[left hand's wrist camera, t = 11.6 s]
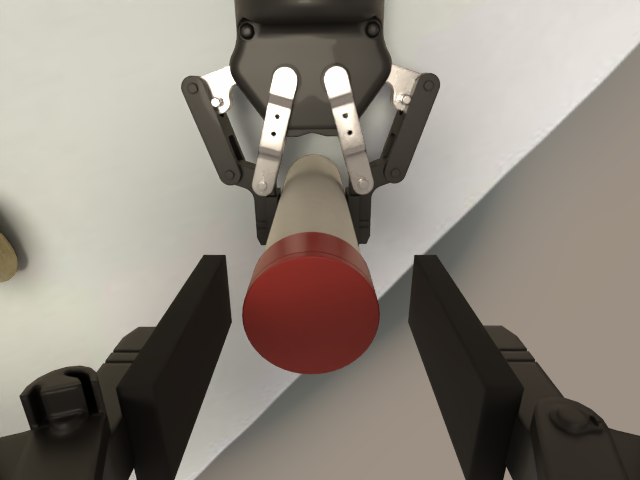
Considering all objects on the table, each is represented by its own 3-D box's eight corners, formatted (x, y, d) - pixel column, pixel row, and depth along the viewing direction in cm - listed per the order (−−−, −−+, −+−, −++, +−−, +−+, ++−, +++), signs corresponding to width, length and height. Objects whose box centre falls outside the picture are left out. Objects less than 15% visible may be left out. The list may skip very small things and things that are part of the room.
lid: (315, 206, 14) (315, 227, 12) (395, 290, 15) (407, 322, 13) (227, 283, 15) (213, 315, 13) (308, 356, 16) (307, 395, 14)
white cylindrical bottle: (315, 142, 29) (315, 229, 12) (351, 183, 30) (398, 315, 13) (274, 179, 30) (223, 308, 13) (311, 218, 31) (307, 382, 14)
